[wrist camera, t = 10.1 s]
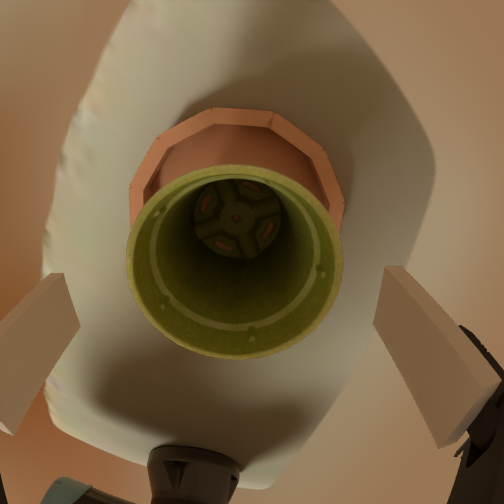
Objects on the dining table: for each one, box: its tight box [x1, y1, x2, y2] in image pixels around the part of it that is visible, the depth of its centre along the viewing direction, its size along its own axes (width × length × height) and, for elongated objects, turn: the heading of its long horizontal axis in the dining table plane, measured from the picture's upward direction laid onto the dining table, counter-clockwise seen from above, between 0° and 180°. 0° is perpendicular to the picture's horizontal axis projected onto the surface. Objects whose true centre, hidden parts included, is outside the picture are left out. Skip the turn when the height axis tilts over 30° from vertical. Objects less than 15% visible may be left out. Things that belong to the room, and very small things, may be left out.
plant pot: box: [126, 164, 343, 360], centre depth 16 cm, size 9×9×9 cm
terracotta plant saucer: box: [129, 107, 345, 251], centre depth 20 cm, size 14×14×2 cm
